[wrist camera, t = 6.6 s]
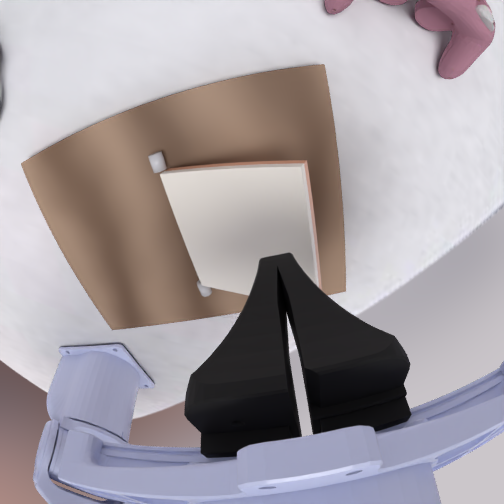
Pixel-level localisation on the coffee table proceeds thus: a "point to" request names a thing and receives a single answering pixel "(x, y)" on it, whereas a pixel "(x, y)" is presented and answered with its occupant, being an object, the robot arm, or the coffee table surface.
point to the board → (156, 200)
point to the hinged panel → (242, 218)
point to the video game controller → (448, 28)
